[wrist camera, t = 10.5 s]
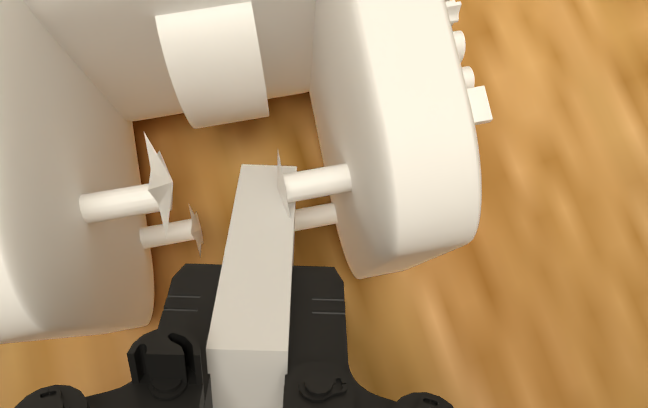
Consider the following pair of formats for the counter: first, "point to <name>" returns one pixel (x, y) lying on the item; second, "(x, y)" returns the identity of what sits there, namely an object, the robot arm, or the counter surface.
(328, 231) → the counter surface
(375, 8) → the cable organizer
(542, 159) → the counter surface
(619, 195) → the counter surface
